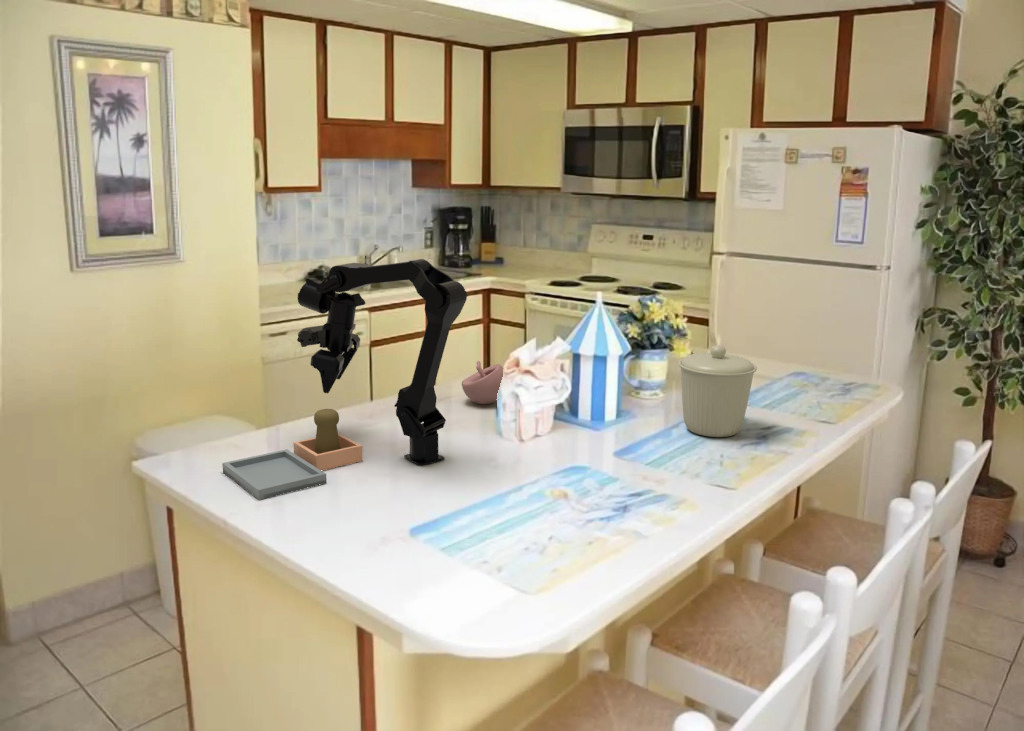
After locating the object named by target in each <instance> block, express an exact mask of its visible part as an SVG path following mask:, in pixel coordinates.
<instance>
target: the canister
mask: <svg viewBox="0 0 1024 731" xmlns="http://www.w3.org/2000/svg"><path fill="white" fill-rule="evenodd" d="M677 364H678V367H679V368H680V381H681V401H682V416H683V421H684V425H685V427H686V428H687V429H688V430H689V431H690V432H692V433H694V434H696V435H699V436H703V437H708V438H725V437H726V438H727V437H732V436H734V435H736V434H737V433H739V432H740V431H741V429H742V427H743V425H744V421H745V417H746V416H745V415H746V411H747V408H748V403H749V397H750V394H751V389H752V388H751V387H752V382H753V378H754V374H755V373H756V372H757V369H758V366H757V365H756V364H754V363H752V362H751V361H750V360H749V359H747V358H745V357H743V356H738V355H734V354H729V353H727V349H726V348H725V347H724V345H721V344H716V345H713V346H712V347H711V348H710V352H700V353H699V352H698V353H693V354H689V355H687V356H685V357H684V358H681V359H679V360H678V363H677Z"/></svg>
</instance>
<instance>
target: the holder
mask: <svg viewBox="0 0 1024 731" xmlns="http://www.w3.org/2000/svg"><path fill="white" fill-rule="evenodd" d="M338 436H339V442H340V448H341V449H339V450H334V451H330V452H325V453H321V454H317V453H315V442H316V437H312V438H308V439H303V440H299V441H293V453H294V454H295V455H297V456H299V457H300V458H302V459H303V460H305V461H307V462H308V463H310V464H311V465H313V466H315V467H316V468H318V469H319V470H324V471H327V470H326V469H328V470H332V469H335V467H336V468H339V467H338V466H341V467H343V466H342V465H345V466H348V465H347V464H349V465H352V464H351V463H353V464H356V462H357V463H360V462H359V461H362V462H363V445H362V444H360V443H358V442H356V441H354V440H353V439H350V438H348V437H347V436H345V435H343V434H341V433H339V432H338ZM331 468H332V469H331Z"/></svg>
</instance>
